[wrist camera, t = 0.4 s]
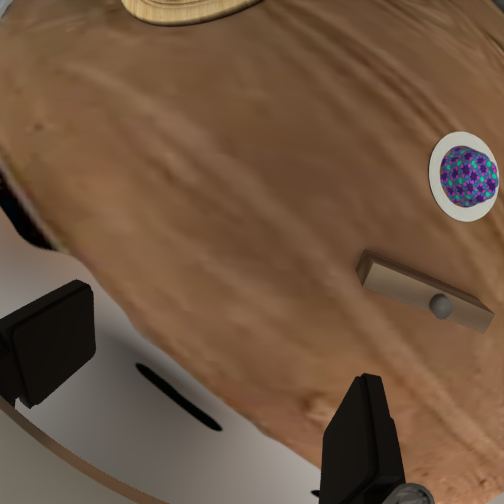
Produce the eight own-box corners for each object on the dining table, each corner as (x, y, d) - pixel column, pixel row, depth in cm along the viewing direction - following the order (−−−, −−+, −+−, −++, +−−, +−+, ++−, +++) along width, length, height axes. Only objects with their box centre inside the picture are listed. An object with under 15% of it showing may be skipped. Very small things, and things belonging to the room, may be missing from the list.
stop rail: (364, 249, 36) (377, 267, 29) (476, 297, 34) (501, 321, 27) (355, 270, 37) (365, 293, 30) (467, 315, 35) (490, 341, 27)
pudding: (507, 192, 30) (527, 196, 25) (452, 237, 34) (469, 246, 29) (469, 117, 29) (488, 111, 24) (410, 159, 33) (424, 157, 28)
